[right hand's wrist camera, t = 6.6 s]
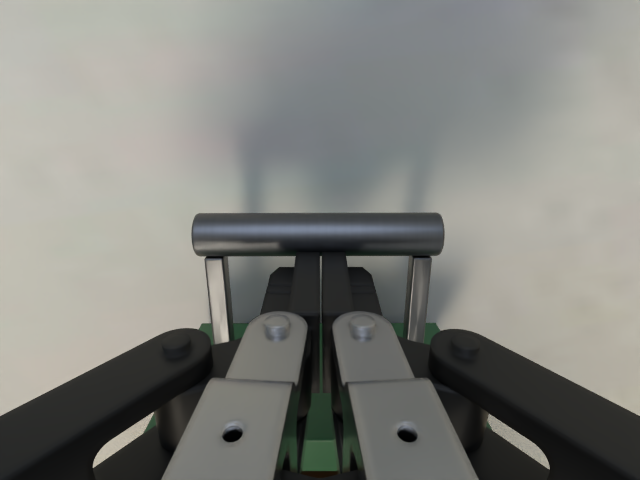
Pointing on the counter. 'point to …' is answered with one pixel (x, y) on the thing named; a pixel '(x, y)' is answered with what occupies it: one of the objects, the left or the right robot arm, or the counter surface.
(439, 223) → the drawer
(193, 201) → the counter surface
